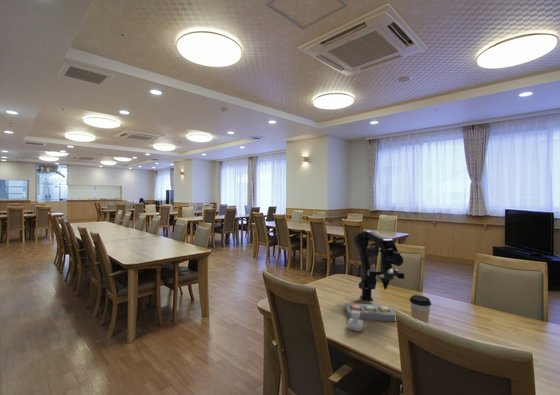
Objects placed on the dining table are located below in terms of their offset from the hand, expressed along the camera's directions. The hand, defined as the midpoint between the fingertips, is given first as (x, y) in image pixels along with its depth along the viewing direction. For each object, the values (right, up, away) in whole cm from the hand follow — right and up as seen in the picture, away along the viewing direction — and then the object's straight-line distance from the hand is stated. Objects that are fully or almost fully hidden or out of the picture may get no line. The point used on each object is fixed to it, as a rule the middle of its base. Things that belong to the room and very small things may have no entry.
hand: (385, 289), depth 157 cm
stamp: (-23, -11, -24) cm, 35 cm away
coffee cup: (+8, -12, -22) cm, 27 cm away
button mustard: (-3, -11, -8) cm, 14 cm away
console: (-11, -11, -7) cm, 17 cm away
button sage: (-11, -11, -7) cm, 17 cm away
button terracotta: (-18, -11, -6) cm, 22 cm away
